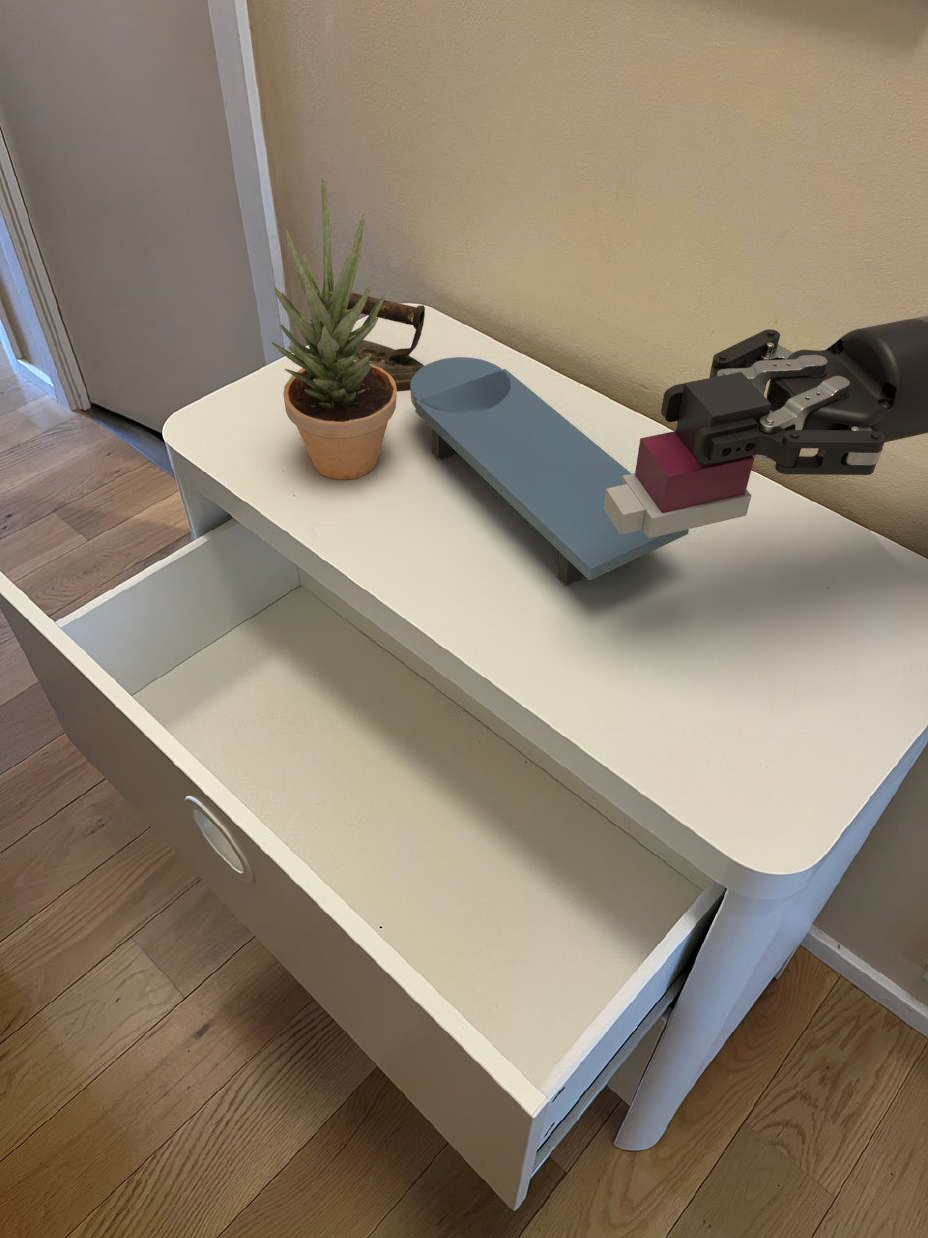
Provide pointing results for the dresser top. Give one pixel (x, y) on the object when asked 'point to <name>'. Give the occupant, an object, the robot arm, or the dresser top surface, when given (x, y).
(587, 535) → the ironing board
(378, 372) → the potted plant
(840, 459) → the robot arm
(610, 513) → the stacked block tower
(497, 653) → the dresser top surface
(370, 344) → the clothes iron
